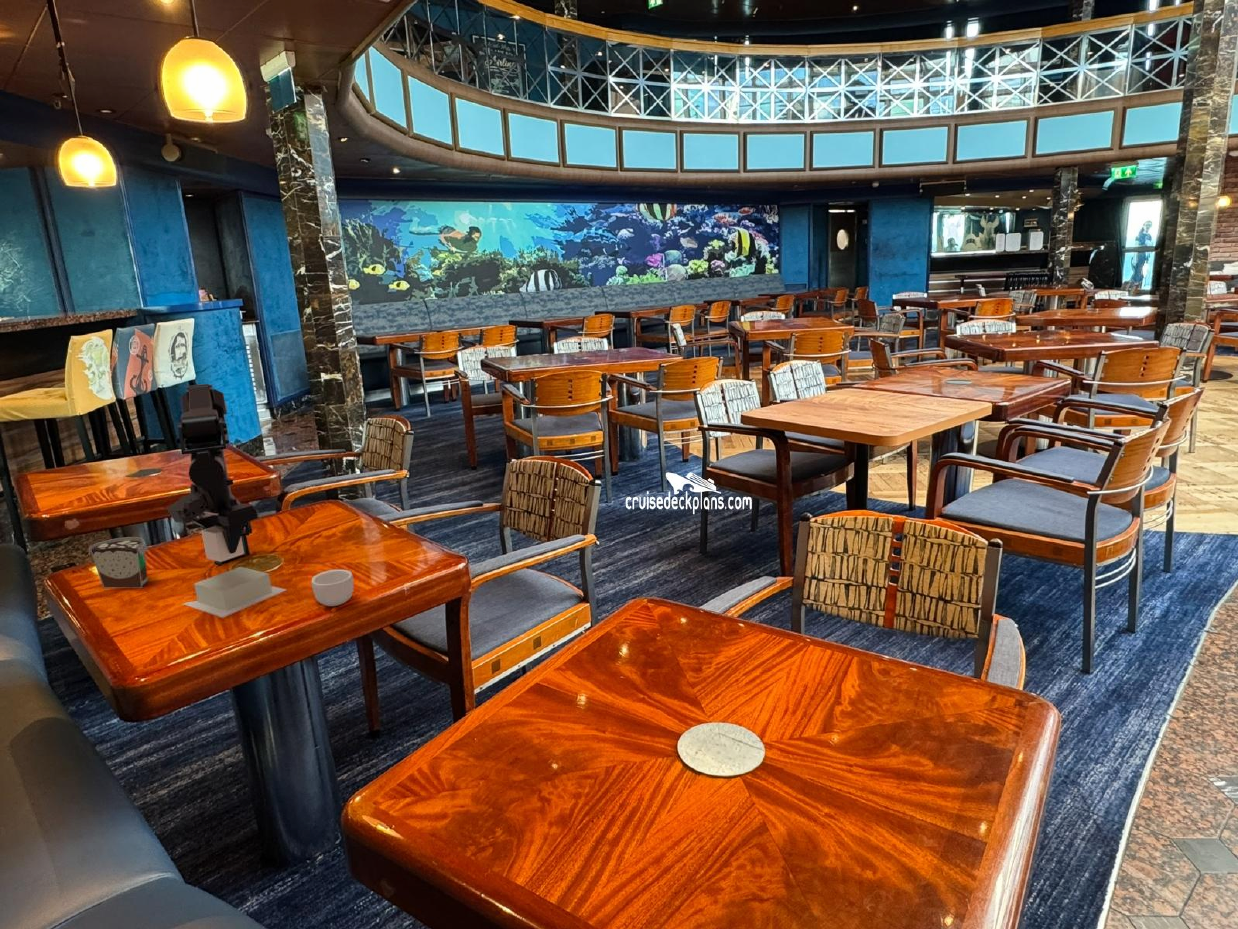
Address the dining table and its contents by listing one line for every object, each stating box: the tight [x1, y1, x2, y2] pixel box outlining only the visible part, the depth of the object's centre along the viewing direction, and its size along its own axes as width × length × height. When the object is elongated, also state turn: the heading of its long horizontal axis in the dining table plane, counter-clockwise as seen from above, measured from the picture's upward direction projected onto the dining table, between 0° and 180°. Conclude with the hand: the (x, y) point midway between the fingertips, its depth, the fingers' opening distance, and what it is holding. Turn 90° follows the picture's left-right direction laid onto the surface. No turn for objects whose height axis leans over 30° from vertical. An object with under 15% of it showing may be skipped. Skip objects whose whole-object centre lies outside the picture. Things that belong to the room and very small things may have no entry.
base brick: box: [193, 566, 272, 611], centre depth 151 cm, size 10×10×4 cm
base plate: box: [183, 585, 287, 619], centre depth 152 cm, size 14×14×1 cm
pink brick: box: [200, 526, 244, 562], centre depth 149 cm, size 5×5×6 cm
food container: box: [88, 536, 149, 589], centre depth 164 cm, size 12×6×10 cm, turn 84°
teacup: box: [311, 569, 354, 607], centre depth 149 cm, size 10×8×5 cm
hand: (225, 551), depth 149 cm, fingers closed on pink brick, 5 cm apart
